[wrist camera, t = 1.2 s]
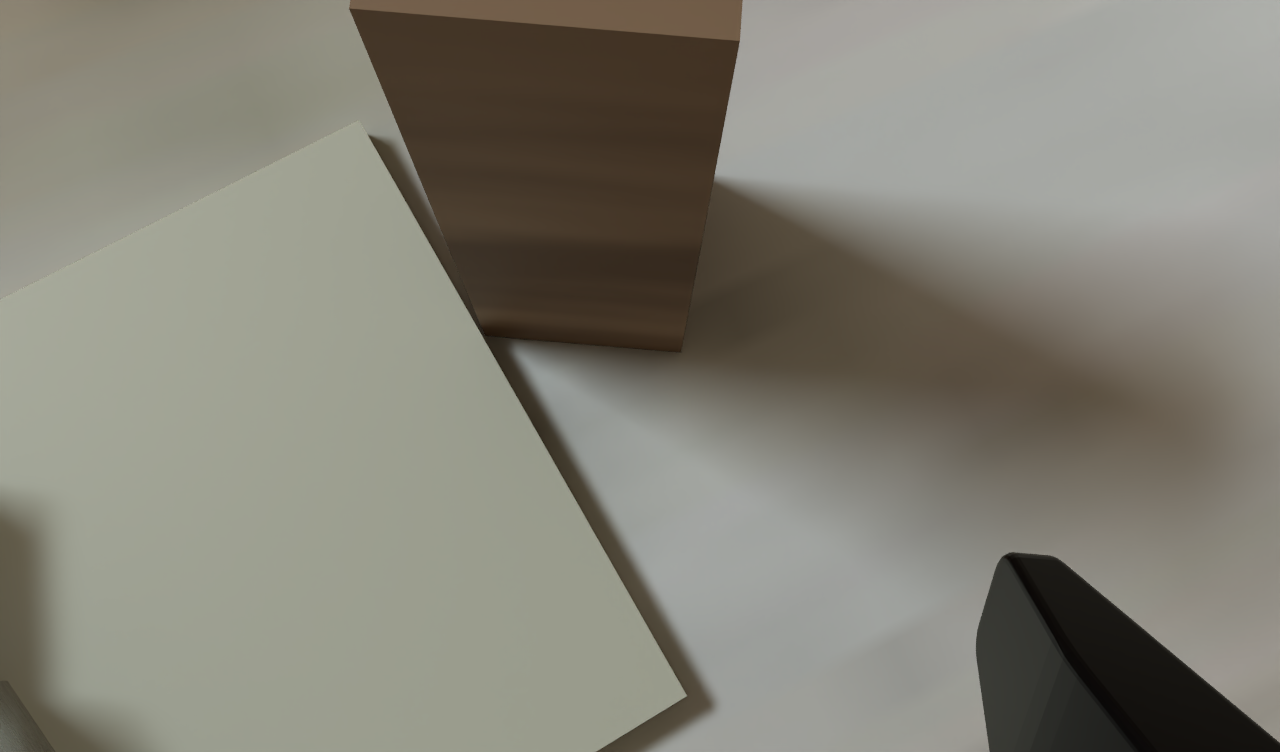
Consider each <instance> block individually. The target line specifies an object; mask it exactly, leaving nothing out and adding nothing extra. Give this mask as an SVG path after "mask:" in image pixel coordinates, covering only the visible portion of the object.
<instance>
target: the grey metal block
mask: <svg viewBox="0 0 1280 752" xmlns="http://www.w3.org/2000/svg"><path fill="white" fill-rule="evenodd" d="M0 752H55V750H54V749H53V748H52V746H51V745H50V743H49V742H48V740H47V739H46V737H45V736H44V734H43V733H42V731H41V730H40V728H39V727H38V725H37V724H36V722H35V721H34V719H33V718H32V716H31V715H30V713H29V712H28V710H27V709H26V707H25V706H24V704H23V703H22V701H21V700H20V698H19V697H18V696H17V694H16V693H15V691H14V690H13V688H12V687H11V685H10V684H9V682H8V681H0Z"/></svg>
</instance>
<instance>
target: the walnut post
mask: <svg viewBox="0 0 1280 752" xmlns="http://www.w3.org/2000/svg"><path fill="white" fill-rule="evenodd" d="M349 9H350V12H351V14H352V16H353V19H354V21H355V24H356V26H357V29H358V31H359V33H360V36H361V38H362V41H363V43H364V45H365V48H366V50H367V53H368V55H369V57H370V60H371V62H372V65H373V67H374V70H375V72H376V74H377V77H378V79H379V82H380V84H381V86H382V89H383V91H384V94H385V96H386V98H387V101H388V103H389V106H390V108H391V111H392V113H393V115H394V118H395V120H396V123H397V125H398V127H399V130H400V132H401V135H402V137H403V139H404V142H405V144H406V147H407V149H408V152H409V154H410V156H411V159H412V161H413V164H414V166H415V168H416V171H417V173H418V176H419V178H420V180H421V183H422V185H423V188H424V190H425V193H426V195H427V197H428V200H429V202H430V205H431V207H432V209H433V212H434V214H435V217H436V219H437V221H438V224H439V226H440V229H441V231H442V234H443V236H444V238H445V241H446V243H447V246H448V248H449V250H450V253H451V255H452V258H453V260H454V262H455V265H456V267H457V270H458V272H459V275H460V277H461V279H462V282H463V284H464V287H465V289H466V291H467V294H468V296H469V299H470V301H471V303H472V306H473V308H474V311H475V313H476V316H477V318H478V320H479V323H480V325H481V328H482V330H483V332H484V335H485V336H495V337H506V338H518V339H530V340H542V341H554V342H565V343H577V344H589V345H601V346H612V347H624V348H636V349H648V350H659V351H671V352H681V349H682V344H683V339H684V333H685V328H686V323H687V317H688V312H689V307H690V301H691V296H692V291H693V286H694V280H695V275H696V270H697V264H698V259H699V254H700V249H701V243H702V238H703V233H704V227H705V222H706V217H707V211H708V206H709V201H710V196H711V190H712V185H713V180H714V174H715V169H716V164H717V159H718V153H719V148H720V143H721V137H722V132H723V127H724V121H725V116H726V111H727V106H728V100H729V95H730V90H731V84H732V79H733V74H734V69H735V63H736V58H737V53H738V47H739V42H740V29H741V15H742V0H351V1H350V7H349Z"/></svg>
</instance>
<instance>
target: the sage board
mask: <svg viewBox="0 0 1280 752" xmlns="http://www.w3.org/2000/svg"><path fill="white" fill-rule="evenodd" d="M0 681H8V682H9V684H10V685H11V687H12V688H13V690H14V691H15V693H16V694H17V696H18V697H19V698H20V700H21V701H22V703H23V704H24V706H25V707H26V709H27V710H28V712H29V713H30V715H31V716H32V718H33V719H34V721H35V722H36V724H37V725H38V727H39V728H40V730H41V731H42V733H43V734H44V736H45V737H46V739H47V740H48V742H49V743H50V745H51V746H52V748H53V749H54V750H55V752H596V751H598V750H600V749H601V748H603V747H604V746H606V745H608V744H609V743H611V742H613V741H614V740H616V739H618V738H619V737H621V736H622V735H624V734H626V733H627V732H629V731H631V730H632V729H634V728H636V727H637V726H639V725H640V724H642V723H644V722H645V721H647V720H649V719H650V718H652V717H654V716H655V715H657V714H658V713H660V712H662V711H663V710H665V709H667V708H668V707H670V706H672V705H673V704H675V703H676V702H678V701H680V700H681V699H683V698H685V697H686V696H687V695H686V693H685V691H684V690H683V688H682V686H681V684H680V683H679V681H678V679H677V677H676V676H675V674H674V672H673V670H672V669H671V667H670V665H669V663H668V662H667V660H666V658H665V656H664V655H663V653H662V651H661V649H660V648H659V646H658V644H657V642H656V640H655V639H654V637H653V635H652V633H651V632H650V630H649V628H648V626H647V625H646V623H645V621H644V619H643V618H642V616H641V614H640V612H639V611H638V609H637V607H636V605H635V604H634V602H633V600H632V598H631V597H630V595H629V593H628V591H627V590H626V588H625V586H624V584H623V583H622V581H621V579H620V577H619V576H618V574H617V572H616V570H615V568H614V567H613V565H612V563H611V561H610V560H609V558H608V556H607V554H606V553H605V551H604V549H603V547H602V546H601V544H600V542H599V540H598V539H597V537H596V535H595V533H594V532H593V530H592V528H591V526H590V525H589V523H588V521H587V519H586V518H585V516H584V514H583V512H582V511H581V509H580V507H579V505H578V503H577V502H576V500H575V498H574V496H573V495H572V493H571V491H570V489H569V488H568V486H567V484H566V482H565V481H564V479H563V477H562V475H561V474H560V472H559V470H558V468H557V467H556V465H555V463H554V461H553V460H552V458H551V456H550V454H549V453H548V451H547V449H546V447H545V446H544V444H543V442H542V440H541V439H540V437H539V435H538V433H537V431H536V430H535V428H534V426H533V424H532V423H531V421H530V419H529V417H528V416H527V414H526V412H525V410H524V409H523V407H522V405H521V403H520V402H519V400H518V398H517V396H516V395H515V393H514V391H513V389H512V388H511V386H510V384H509V382H508V381H507V379H506V377H505V375H504V374H503V372H502V370H501V368H500V366H499V365H498V363H497V361H496V359H495V358H494V356H493V354H492V352H491V351H490V349H489V347H488V345H487V344H486V342H485V340H484V338H483V337H482V335H481V333H480V331H479V330H478V328H477V326H476V324H475V323H474V321H473V319H472V317H471V316H470V314H469V312H468V310H467V309H466V307H465V305H464V303H463V302H462V300H461V298H460V296H459V294H458V293H457V291H456V289H455V287H454V286H453V284H452V282H451V280H450V279H449V277H448V275H447V273H446V272H445V270H444V268H443V266H442V265H441V263H440V261H439V259H438V258H437V256H436V254H435V252H434V251H433V249H432V247H431V245H430V244H429V242H428V240H427V238H426V237H425V235H424V233H423V231H422V229H421V228H420V226H419V224H418V222H417V221H416V219H415V217H414V215H413V214H412V212H411V210H410V208H409V207H408V205H407V203H406V201H405V200H404V198H403V196H402V194H401V193H400V191H399V189H398V187H397V186H396V184H395V182H394V180H393V179H392V177H391V175H390V173H389V172H388V170H387V168H386V166H385V165H384V163H383V161H382V159H381V157H380V156H379V154H378V152H377V150H376V149H375V147H374V145H373V143H372V142H371V140H370V138H369V136H368V135H367V133H366V131H365V129H364V128H363V126H362V124H361V122H360V121H359V120H358V121H356V122H354V123H352V124H350V125H348V126H346V127H344V128H342V129H340V130H338V131H336V132H334V133H332V134H330V135H328V136H326V137H324V138H322V139H320V140H318V141H316V142H314V143H312V144H310V145H308V146H306V147H304V148H302V149H300V150H298V151H296V152H294V153H292V154H290V155H288V156H286V157H284V158H282V159H280V160H278V161H276V162H274V163H272V164H270V165H268V166H266V167H264V168H262V169H260V170H258V171H256V172H254V173H252V174H250V175H248V176H246V177H244V178H242V179H240V180H238V181H236V182H234V183H232V184H230V185H228V186H226V187H224V188H222V189H220V190H218V191H216V192H214V193H212V194H210V195H208V196H206V197H204V198H202V199H200V200H198V201H196V202H194V203H192V204H190V205H188V206H186V207H184V208H182V209H180V210H178V211H176V212H174V213H172V214H170V215H168V216H166V217H164V218H162V219H160V220H158V221H156V222H154V223H152V224H150V225H148V226H146V227H144V228H142V229H140V230H138V231H136V232H134V233H132V234H130V235H128V236H126V237H124V238H122V239H120V240H118V241H116V242H114V243H112V244H110V245H108V246H106V247H104V248H102V249H100V250H98V251H96V252H94V253H92V254H90V255H88V256H86V257H84V258H82V259H80V260H78V261H76V262H74V263H72V264H70V265H68V266H66V267H64V268H62V269H60V270H58V271H56V272H54V273H52V274H50V275H48V276H46V277H44V278H42V279H40V280H38V281H36V282H34V283H32V284H30V285H28V286H26V287H24V288H22V289H20V290H18V291H16V292H14V293H12V294H10V295H8V296H6V297H4V298H2V299H0Z"/></svg>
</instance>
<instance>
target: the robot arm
mask: <svg viewBox="0 0 1280 752" xmlns="http://www.w3.org/2000/svg"><path fill="white" fill-rule="evenodd" d="M976 657H977V665H978V672H979V679H980V686H981V693H982V700H983V708H984V715H985V722H986V729H987V736H988V743H989V750H990V752H1280V743H1279V742H1278V741H1277V740H1276V739H1275V738H1273V737H1272V736H1271V735H1270V734H1269V733H1267V732H1266V731H1265V730H1264V729H1263V728H1261V727H1260V726H1259V725H1258V724H1257V723H1255V722H1254V721H1253V720H1252V719H1251V718H1249V717H1248V716H1247V715H1246V714H1245V713H1243V712H1242V711H1241V710H1240V709H1239V708H1237V707H1236V706H1235V705H1234V704H1233V703H1231V702H1230V701H1229V700H1228V699H1227V698H1225V697H1224V696H1223V695H1222V694H1221V693H1219V692H1218V691H1217V690H1216V689H1215V688H1213V687H1212V686H1211V685H1210V684H1209V683H1207V682H1206V681H1205V680H1204V679H1203V678H1201V677H1200V676H1199V675H1198V674H1197V673H1195V672H1194V671H1193V670H1192V669H1191V668H1189V667H1188V666H1187V665H1186V664H1185V663H1183V662H1182V661H1181V660H1180V659H1179V658H1177V657H1176V656H1175V655H1174V654H1173V653H1171V652H1170V651H1169V650H1168V649H1167V648H1165V647H1164V646H1163V645H1162V644H1161V643H1159V642H1158V641H1157V640H1156V639H1155V638H1153V637H1152V636H1151V635H1150V634H1149V633H1147V632H1146V631H1145V630H1144V629H1143V628H1141V627H1140V626H1139V625H1138V624H1137V623H1135V622H1134V621H1133V620H1132V619H1131V618H1129V617H1128V616H1127V615H1126V614H1125V613H1123V612H1122V611H1121V610H1120V609H1119V608H1117V607H1116V606H1115V605H1114V604H1113V603H1111V602H1110V601H1109V600H1108V599H1107V598H1105V597H1104V596H1103V595H1102V594H1101V593H1099V592H1098V591H1097V590H1096V589H1095V588H1093V587H1092V586H1091V585H1090V584H1089V583H1087V582H1086V581H1085V580H1084V579H1083V578H1081V577H1080V576H1079V575H1078V574H1077V573H1075V572H1074V571H1073V570H1072V569H1071V568H1069V567H1068V566H1067V565H1066V564H1065V563H1063V562H1062V561H1061V560H1059V559H1058V558H1056V557H1053V556H1048V555H1037V554H1025V553H1013V552H1012V553H1008V554H1006V555H1004V556H1003V557H1002V558H1001V559H1000V561H999V562H998V564H997V567H996V569H995V573H994V576H993V579H992V583H991V586H990V589H989V593H988V596H987V599H986V603H985V606H984V609H983V613H982V616H981V619H980V623H979V626H978V630H977V637H976Z"/></svg>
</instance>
